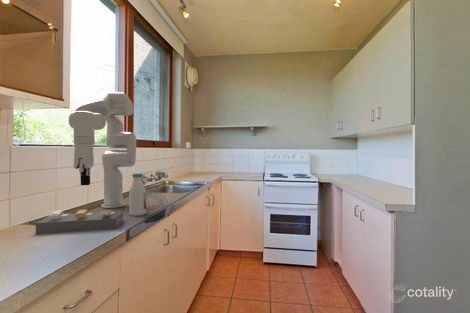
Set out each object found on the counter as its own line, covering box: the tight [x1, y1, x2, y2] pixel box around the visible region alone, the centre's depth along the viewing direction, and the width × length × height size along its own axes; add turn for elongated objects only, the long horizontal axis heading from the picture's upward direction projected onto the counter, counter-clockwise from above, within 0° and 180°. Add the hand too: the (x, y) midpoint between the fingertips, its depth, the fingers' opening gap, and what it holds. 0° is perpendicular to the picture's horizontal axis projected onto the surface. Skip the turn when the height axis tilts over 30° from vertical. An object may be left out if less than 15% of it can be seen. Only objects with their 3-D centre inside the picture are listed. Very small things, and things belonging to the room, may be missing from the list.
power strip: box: [35, 210, 124, 234], centre depth 107 cm, size 14×28×4 cm, turn 103°
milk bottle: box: [128, 173, 147, 217], centre depth 128 cm, size 8×8×20 cm
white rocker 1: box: [48, 209, 64, 219], centre depth 103 cm, size 5×3×2 cm, turn 13°
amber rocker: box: [75, 209, 89, 217], centre depth 105 cm, size 5×3×2 cm, turn 13°
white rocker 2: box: [99, 209, 112, 214], centre depth 108 cm, size 5×3×2 cm, turn 13°
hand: (85, 184), depth 110 cm, fingers closed
